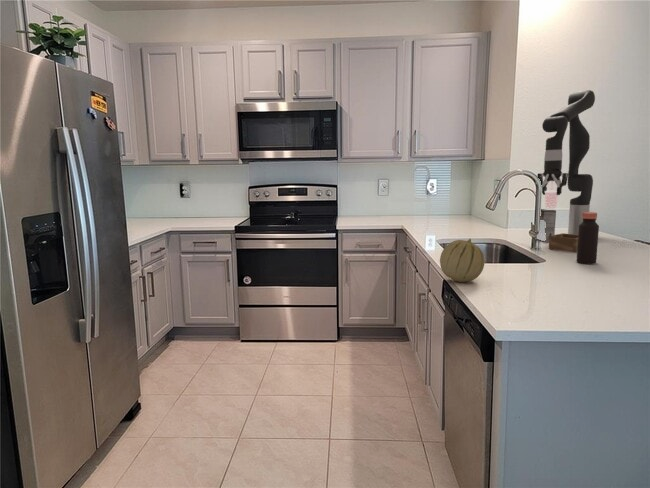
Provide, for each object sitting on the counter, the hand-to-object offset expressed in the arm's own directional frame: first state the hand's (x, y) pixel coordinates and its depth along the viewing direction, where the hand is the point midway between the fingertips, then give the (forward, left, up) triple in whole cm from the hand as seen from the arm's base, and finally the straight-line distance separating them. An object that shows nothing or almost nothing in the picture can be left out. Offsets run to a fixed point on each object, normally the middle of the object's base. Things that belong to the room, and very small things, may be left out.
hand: (551, 194), depth 210 cm
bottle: (+29, +31, -25) cm, 49 cm away
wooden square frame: (+5, +12, -25) cm, 28 cm away
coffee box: (-10, -7, -25) cm, 28 cm away
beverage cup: (0, 0, -7) cm, 7 cm away
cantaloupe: (+89, +17, -25) cm, 94 cm away
